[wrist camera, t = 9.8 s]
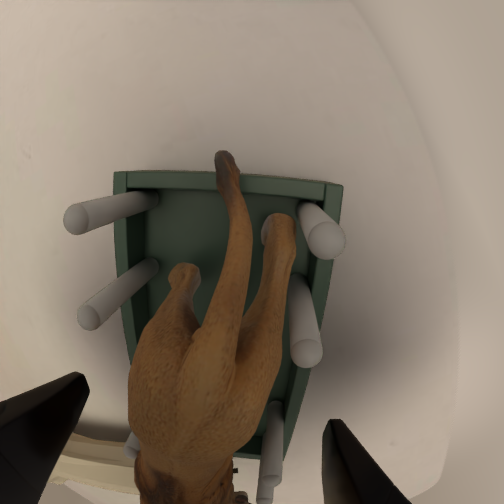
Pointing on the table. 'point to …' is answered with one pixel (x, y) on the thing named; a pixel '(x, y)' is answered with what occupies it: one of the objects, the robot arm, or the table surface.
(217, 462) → the lion figurine
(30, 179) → the table surface
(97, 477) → the faceted club
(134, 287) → the drying rack
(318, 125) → the table surface
